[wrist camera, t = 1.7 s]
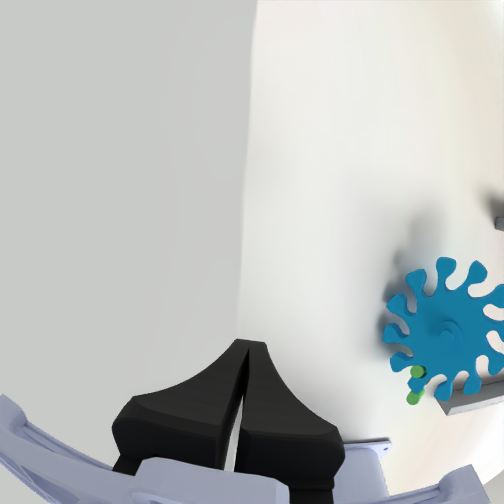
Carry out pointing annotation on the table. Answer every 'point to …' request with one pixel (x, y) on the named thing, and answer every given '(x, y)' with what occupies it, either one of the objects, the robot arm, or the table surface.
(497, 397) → the grey open frame
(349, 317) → the table surface
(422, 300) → the gear
